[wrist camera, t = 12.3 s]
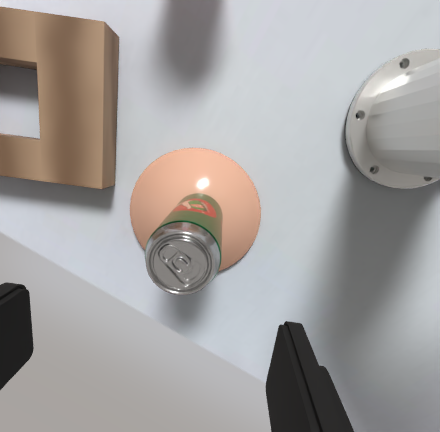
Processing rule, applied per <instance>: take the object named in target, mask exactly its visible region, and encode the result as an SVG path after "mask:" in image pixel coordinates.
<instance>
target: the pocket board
mask: <svg viewBox="0 0 440 432" xmlns="http://www.w3.org/2000/svg"><path fill="white" fill-rule="evenodd" d="M118 56H119V37H118V35H117V34H116V33H115V32H114V31H113V30H112V29H111V28H110V27H109V26H108V25H107V24H106V23H105V22H103V21H96V20H89V19H82V18H75V17H69V16H62V15H55V14H48V13H41V12H34V11H27V10H20V9H13V8H6V7H0V64H2V65H9V66H16V67H23V68H30V69H37V79H38V101H39V123H40V139H38V138H30V137H23V136H16V135H8V134H1V133H0V176H7V177H15V178H22V179H30V180H37V181H45V182H52V183H60V184H68V185H75V186H83V187H90V188H98V189H104V188H107V187H110V186H113V185H115V165H116V128H117V92H118Z"/></svg>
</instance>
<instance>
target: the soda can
mask: <svg viewBox="0 0 440 432" xmlns="http://www.w3.org/2000/svg"><path fill="white" fill-rule="evenodd" d="M222 223H223V215H222V210H221V208H220V206H219V204H218V203H217V202H216V200H214V199H213V198H212V197H210V196H208V195H206V194H201V193H195V194H190V195H188V196H186V197H184V198H183V199H182V200H181V201H180V202H179V203H178V204H177V205H176V207H175V208H174V209H173V210H172V211H171V212H170V214H169V215H168V216H167V217H166V218H165V219H164V221H163V222H162V223H161V224H160V225H159V226H158V228H157V229H156V230H155V231H154V232H153V233H152V235H151V236H150V238H149V239H148V242H147V244H146V248H145V261H146V267H147V271H148V274H149V276H150V278H151V279H152V281H153V282H154V283H155V284H156V285H157V286H158V287H159V288H161V289H162V290H164V291H166V292H169V293H171V294H176V295H188V294H193V293H195V292H198V291H199V290H201V289H202V288H204V287H205V286H206V285H207V284H208V283H210V282H211V281H212V280H213V279H214V277H215V276H216V274H217V273H218V271H219V268H220V265H221V254H222Z"/></svg>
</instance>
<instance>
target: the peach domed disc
mask: <svg viewBox="0 0 440 432" xmlns="http://www.w3.org/2000/svg"><path fill="white" fill-rule="evenodd" d="M195 193H201V194H206V195H208V196H210V197H212V198H213V199H214V200H216V202H217V203H218V204H219V206H220V208H221V210H222V215H223V223H222V254H221V265H220V268H219V271H221V270H223V269H226V268H228V267H229V266H231V265H233V264H234V263H236V262H237V261H238V260H239V259H241V258H242V257H243V256H244V255H245V254H246V252H247V251H248V250H249V248H250V247H251V245H252V244H253V242H254V240H255V238H256V235H257V233H258V229H259V225H260V218H261V207H260V201H259V197H258V194H257V191H256V188H255V186H254V184H253V182H252V181H251V179H250V178H249V176H248V175H247V173H246V172H245V171H244V170H243V169H242V168H241V167H240V166H239V165H238V164H237V163H236V162H234V161H233V160H231V159H230V158H229V157H227V156H225V155H223V154H221V153H218V152H215V151H212V150H208V149H202V148H185V149H180V150H175V151H172V152H170V153H167V154H165V155H163V156H161V157H159V158H158V159H156V160H155V161H154V162H152V163H151V164H150V165H149V166H148V167H147V168H146V169H145V170H144V172H143V173H142V174H141V175H140V177H139V179H138V181H137V182H136V185H135V187H134V189H133V193H132V197H131V203H130V217H131V223H132V227H133V230H134V233H135V235H136V237H137V239H138V241H139V243H140V244H141V246H142V247H143V248H144V250H145V248H146V244H147V242H148V239H149V238H150V236H151V235H152V233H153V232H154V231H155V230H156V229H157V228H158V226H159V225H160V224H161V223H162V222H163V221H164V219H165V218H166V217H167V216H168V215H169V214H170V212H171V211H172V210H173V209H174V208H175V207H176V205H177V204H178V203H179V202H180V201H181V200H182V199H183V198H184V197H186V196H188V195H190V194H195Z"/></svg>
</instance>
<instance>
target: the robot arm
mask: <svg viewBox="0 0 440 432" xmlns="http://www.w3.org/2000/svg"><path fill="white" fill-rule="evenodd" d="M356 114H357V115H358V118H357V119H356ZM346 144H347V147H348V151H349V154H350V157H351V158H352V160H353V162H354V164H355V166H356V167H357V168H358V169H359V170H360V172H361V173H362V174H363V175H365V176H366V177H367V178H369V179H370V180H372V181H374V182H376V183H378V184H380V185H384V186H388V187H392V188H399V189H409V188H417V187H421V186H426V185H428V184H431V183H433V182H435V181H438V180H439V179H440V49H421V50H415V51H411V52H408V53H406V54H403V55H400V56H398V57H396V58H394V59H392V60H391V61H389V62H387V63H385V64H384V65H383V66H381V67H380V68H378V69H377V70H376V71H375V72H374V73H373V74H372V75H371V76H370V77H369V78H368V79H367V80H366V81H365V82H364V83H363V85H362V86H361V88H360V89H359V90H358V92H357V93H356V95H355V97H354V100H353V102H352V104H351V106H350V109H349V113H348V116H347V122H346ZM370 168H372V169H371V171H370ZM32 353H33V337H32V323H31V311H30V297H29V291H28V290H26V287H25V286H24V285H21V284H14V283H4V284H1V285H0V390H1V389H2V388H3V387H4V385H5V384H6V383H7V382H8V381H9V380H10V379H11V378H12V377H13V376H14V375H15V374H16V373H17V372H18V371H19V370H20V369H21V367H22V366H23V365H24V364H25V363H26V362H27V361H28V360H29V359H30V357H31V355H32ZM266 396H267V403H268V410H269V417H270V424H271V431H272V432H354V430H353V428H352V426H351V423H350V421H349V419H348V416H347V414H346V412H345V410H344V407H343V405H342V403H341V400H340V398H339V396H338V393H337V391H336V389H335V386H334V384H333V382H332V380H331V377H330V375H329V373H328V371H327V369H326V368H325V367H324V366H319V365H318V362H317V360H316V357H315V355H314V352H313V350H312V347H311V345H310V342H309V340H308V337H307V335H306V332H305V330H304V328H303V325H302V324H301V323H295V322H287V321H286V322H285V323H284V325H279V328H278V332H277V337H276V341H275V346H274V350H273V354H272V359H271V363H270V368H269V372H268V376H267V381H266Z"/></svg>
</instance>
